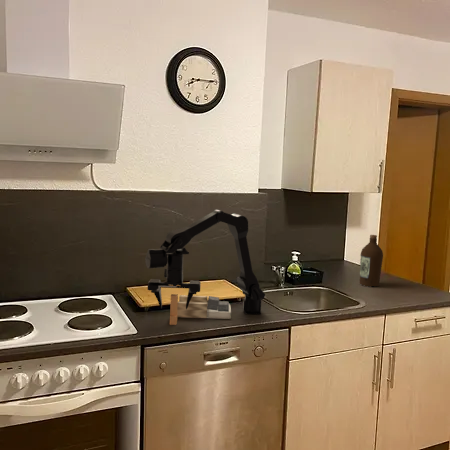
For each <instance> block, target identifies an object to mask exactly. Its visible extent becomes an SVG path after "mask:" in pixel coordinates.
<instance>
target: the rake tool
mask: <svg viewBox="0 0 450 450" xmlns="http://www.w3.org/2000/svg"><path fill="white" fill-rule="evenodd" d="M178 302H179V295H178V294H176V293H175V294H174V293H173V294H172V293H171V294H170V312H169V325H170V326H176V325H177V323H178V318H179V317H178V311H177V309H178Z"/></svg>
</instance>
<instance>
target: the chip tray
mask: <svg viewBox="0 0 450 450" xmlns="http://www.w3.org/2000/svg"><path fill="white" fill-rule="evenodd" d="M207 304H208V302H207ZM206 319H220V320H221V319H223V320H224V319H225V320H231V319H232V309H231V303H229V312H221V311H218V310H217V311H216V310H210V309H207V318H206Z"/></svg>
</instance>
